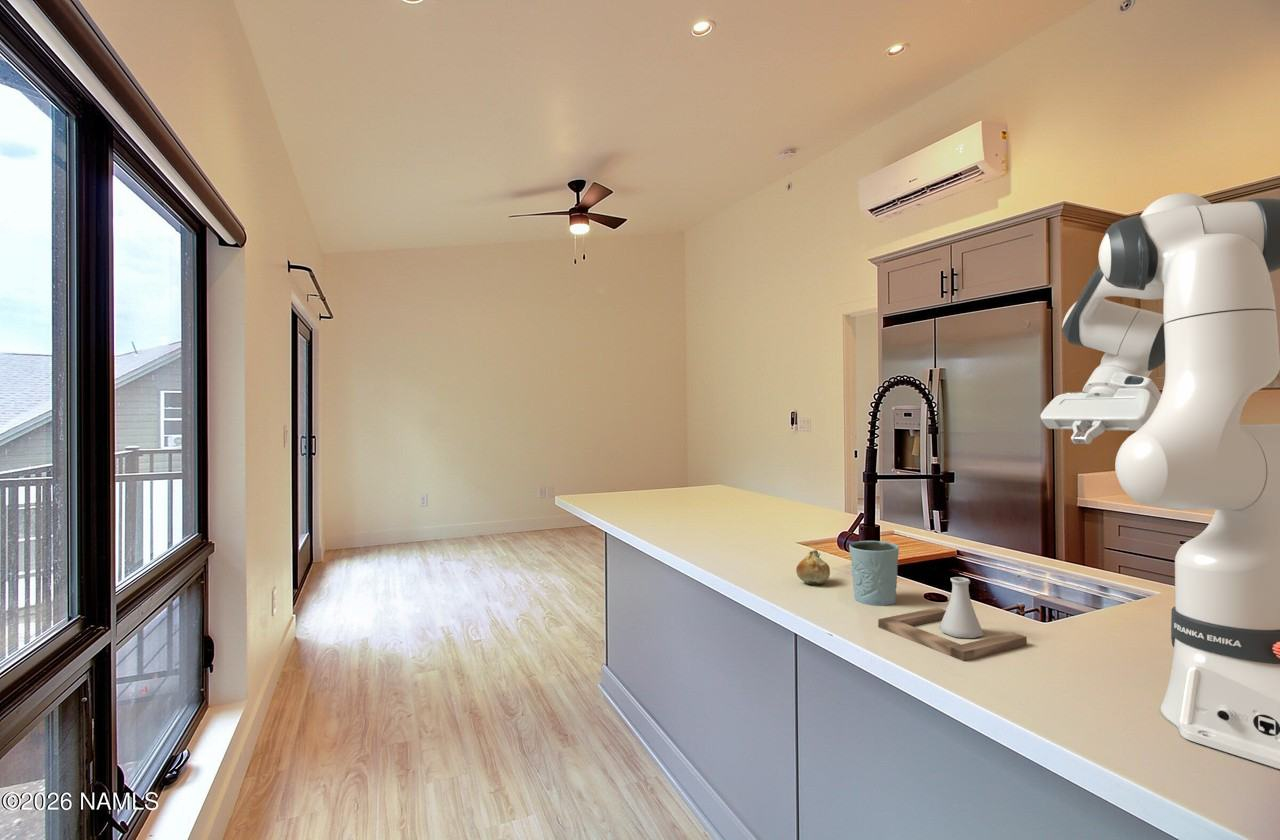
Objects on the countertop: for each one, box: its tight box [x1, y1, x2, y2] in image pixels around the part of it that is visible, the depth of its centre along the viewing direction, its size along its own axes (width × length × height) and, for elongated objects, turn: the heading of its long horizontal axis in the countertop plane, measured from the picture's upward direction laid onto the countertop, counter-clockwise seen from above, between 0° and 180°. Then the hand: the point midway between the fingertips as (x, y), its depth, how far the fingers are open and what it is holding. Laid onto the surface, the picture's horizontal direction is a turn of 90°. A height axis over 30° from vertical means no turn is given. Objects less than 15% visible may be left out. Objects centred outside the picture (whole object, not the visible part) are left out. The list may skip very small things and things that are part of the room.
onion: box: [795, 549, 831, 586], centre depth 157 cm, size 8×8×8 cm
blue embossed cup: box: [848, 540, 900, 607], centre depth 142 cm, size 10×10×12 cm
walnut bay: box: [877, 607, 1028, 662], centre depth 120 cm, size 19×16×2 cm
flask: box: [938, 576, 985, 639], centre depth 121 cm, size 7×7×10 cm
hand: (1079, 441), depth 128 cm, fingers closed
